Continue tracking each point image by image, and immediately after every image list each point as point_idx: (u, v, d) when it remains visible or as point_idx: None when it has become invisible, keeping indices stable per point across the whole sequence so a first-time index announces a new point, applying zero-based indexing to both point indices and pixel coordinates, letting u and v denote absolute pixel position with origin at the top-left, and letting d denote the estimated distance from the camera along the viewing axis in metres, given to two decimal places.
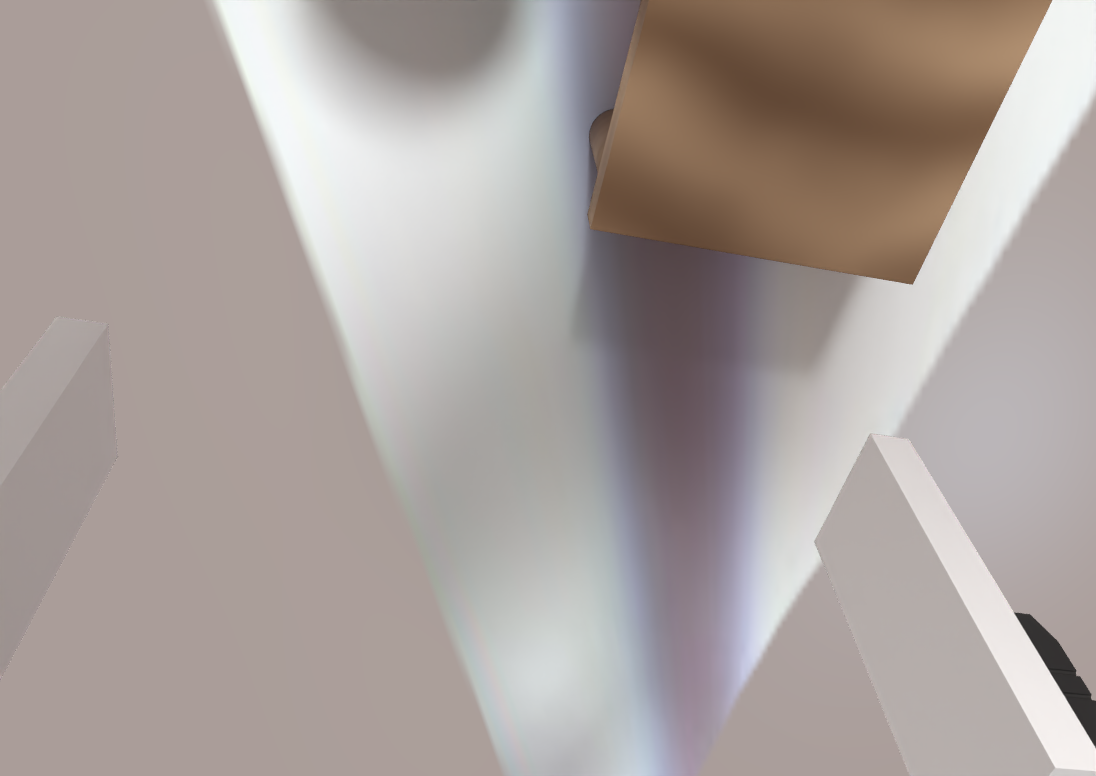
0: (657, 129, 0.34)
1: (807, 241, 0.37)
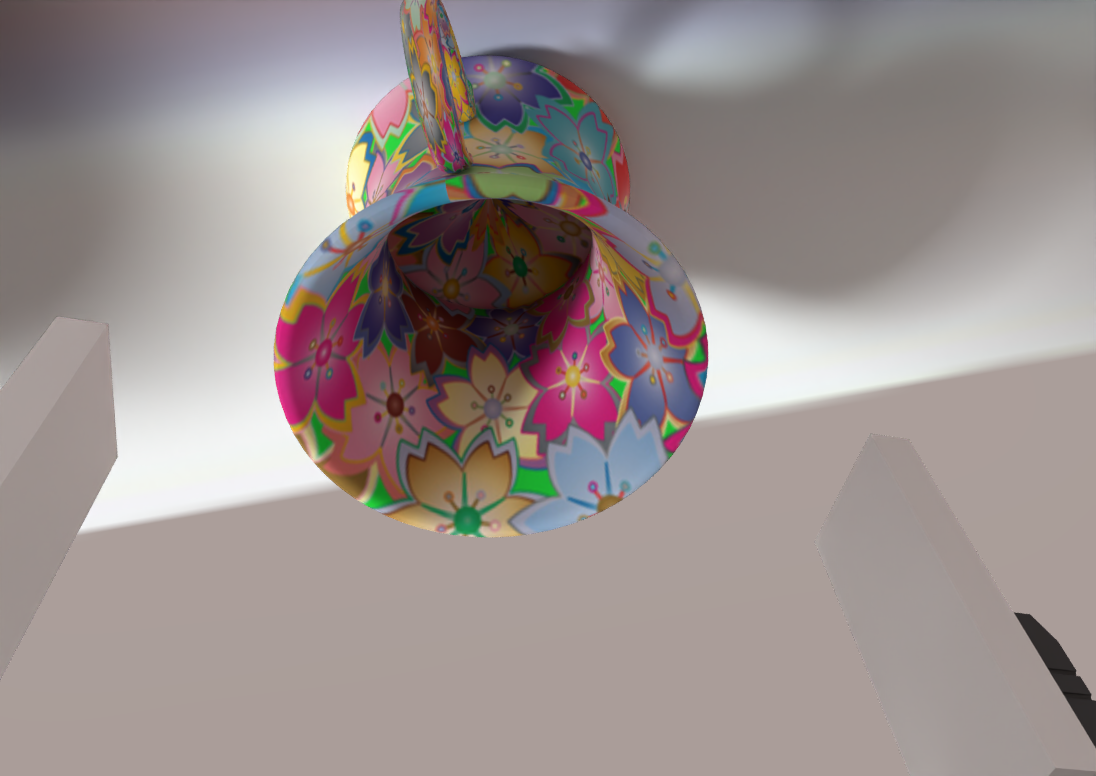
0: None
1: None
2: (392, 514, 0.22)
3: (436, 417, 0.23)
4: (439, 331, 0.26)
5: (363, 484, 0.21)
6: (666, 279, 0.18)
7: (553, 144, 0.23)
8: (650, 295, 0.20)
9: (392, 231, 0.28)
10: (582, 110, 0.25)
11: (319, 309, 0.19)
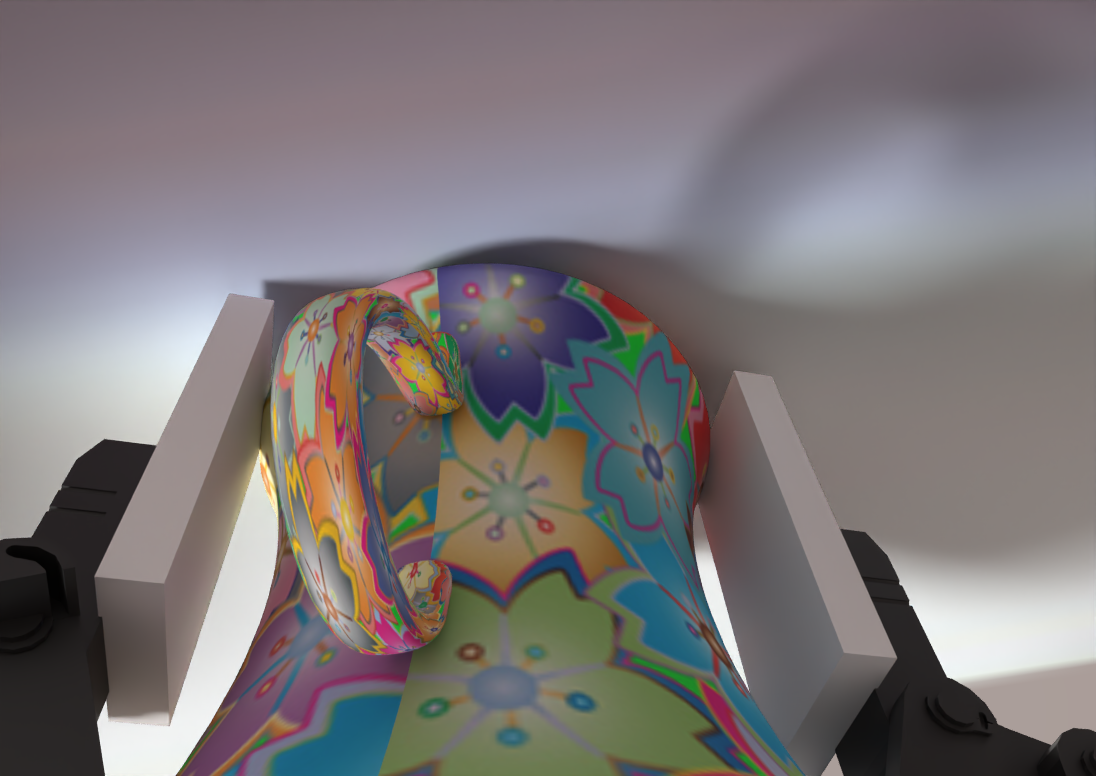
0: None
1: None
2: None
3: None
4: None
5: None
6: None
7: (600, 452, 0.13)
8: None
9: None
10: (642, 353, 0.15)
11: None
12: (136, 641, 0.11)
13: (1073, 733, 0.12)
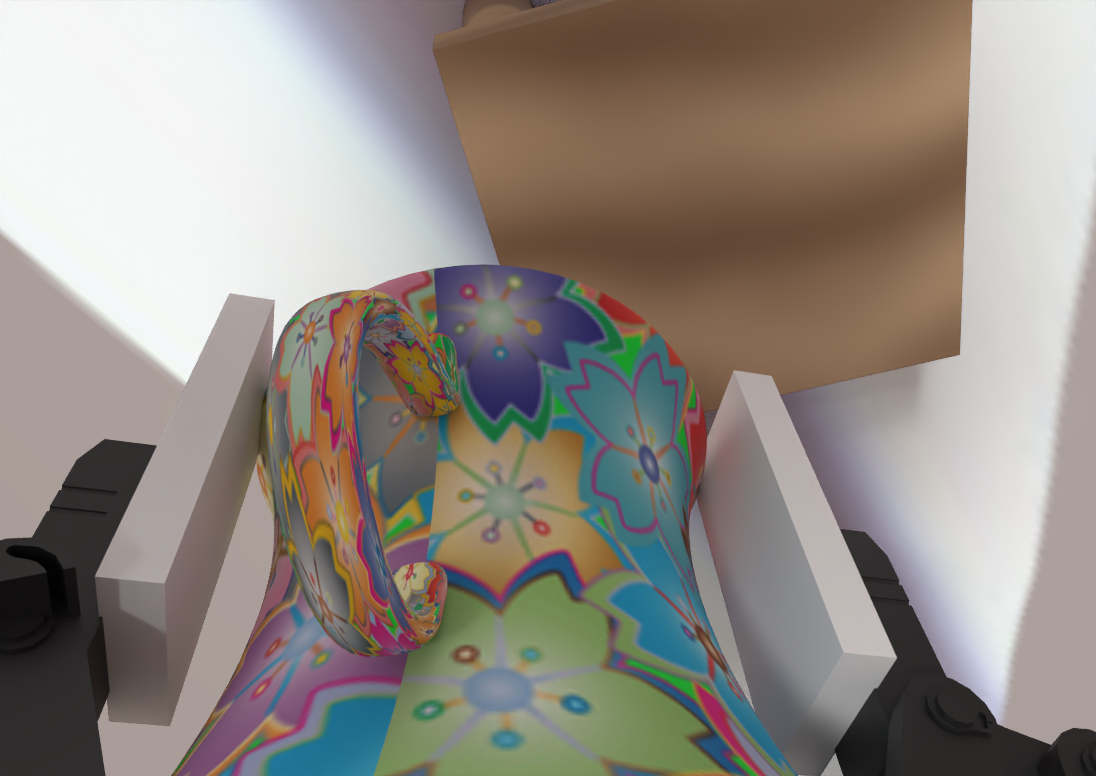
0: None
1: (804, 364, 0.31)
2: None
3: None
4: None
5: None
6: None
7: (596, 454, 0.13)
8: None
9: None
10: (638, 355, 0.15)
11: None
12: (137, 641, 0.11)
13: (1072, 733, 0.12)
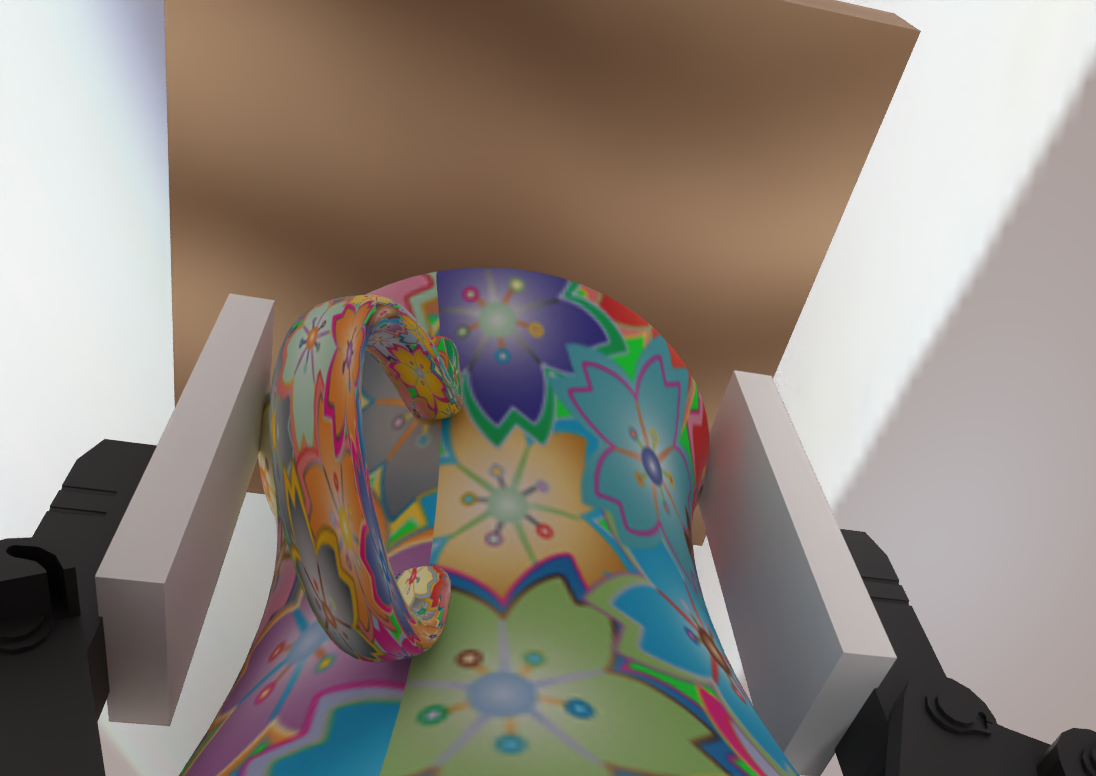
0: None
1: None
2: None
3: None
4: None
5: None
6: None
7: (599, 457, 0.13)
8: None
9: None
10: (641, 357, 0.15)
11: None
12: (136, 641, 0.11)
13: (1073, 734, 0.12)
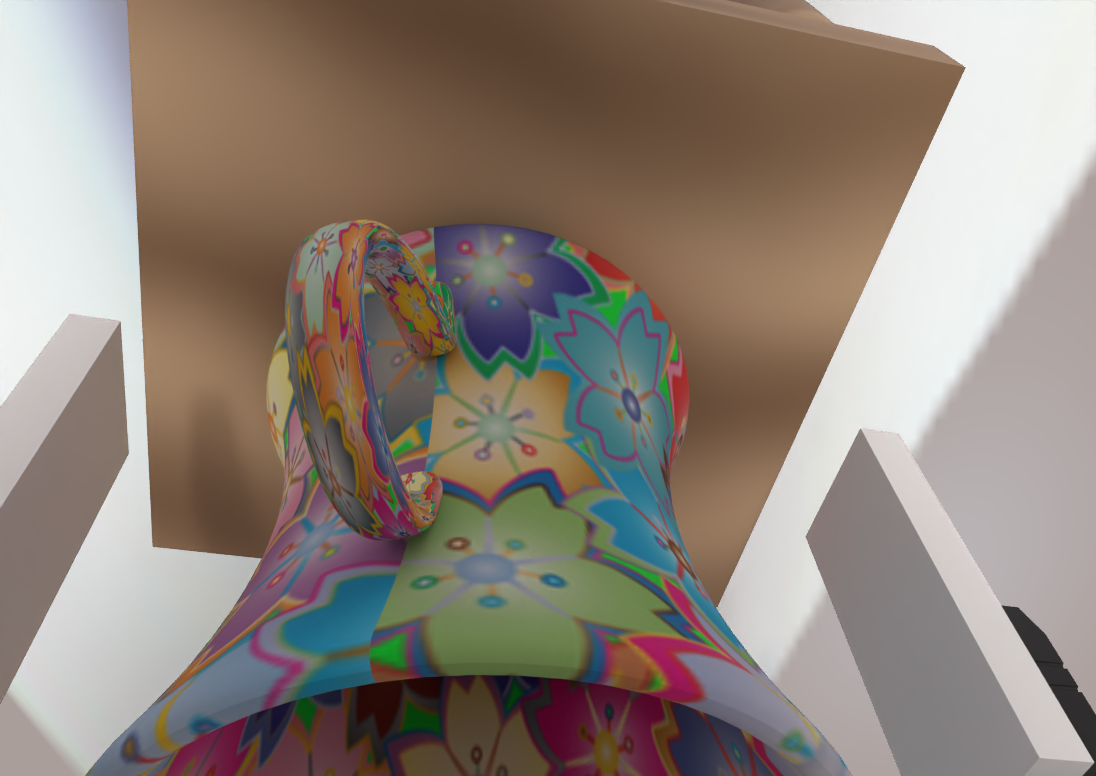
0: (221, 407, 0.19)
1: None
2: None
3: None
4: None
5: None
6: None
7: (581, 392, 0.14)
8: None
9: None
10: (623, 308, 0.16)
11: None
12: None
13: None
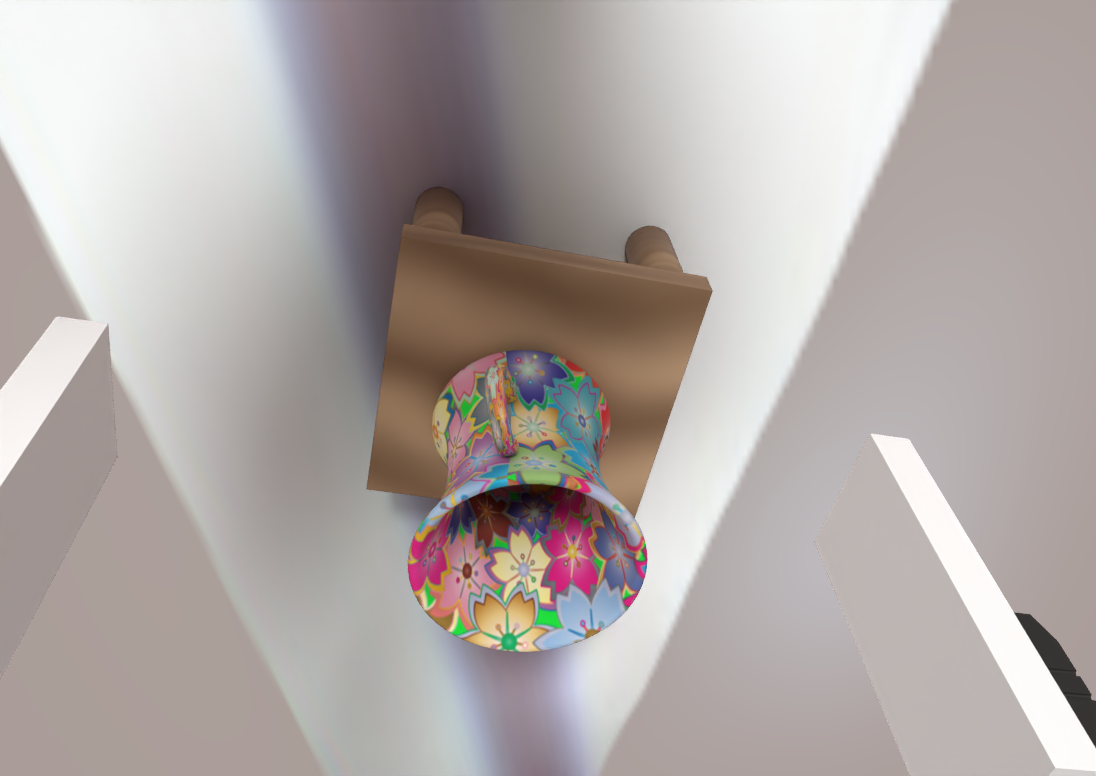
0: (407, 423, 0.44)
1: None
2: (466, 638, 0.37)
3: (490, 576, 0.39)
4: (490, 516, 0.41)
5: (450, 622, 0.37)
6: (622, 521, 0.34)
7: (562, 415, 0.39)
8: (615, 521, 0.36)
9: None
10: (580, 383, 0.41)
11: (433, 530, 0.35)
12: None
13: None
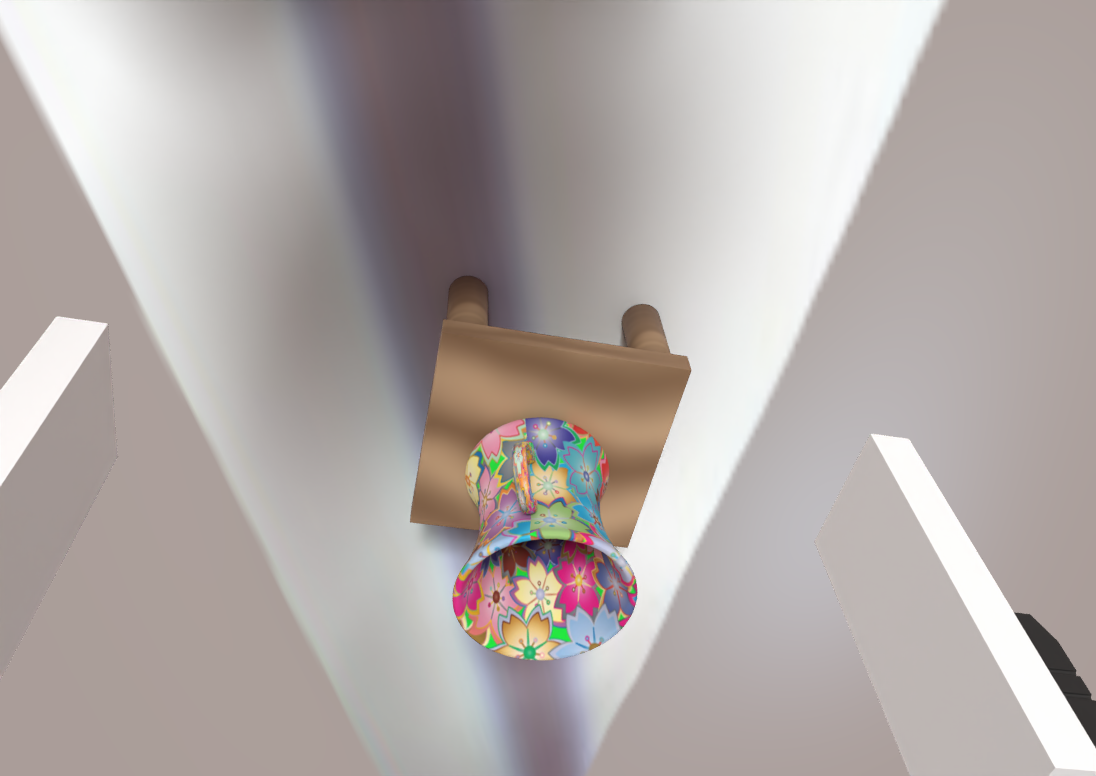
0: (444, 471, 0.54)
1: None
2: (496, 650, 0.48)
3: (514, 600, 0.50)
4: (513, 549, 0.52)
5: (484, 638, 0.47)
6: (618, 564, 0.45)
7: (571, 474, 0.49)
8: (612, 562, 0.46)
9: None
10: (585, 443, 0.52)
11: (472, 570, 0.45)
12: None
13: None
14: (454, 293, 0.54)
